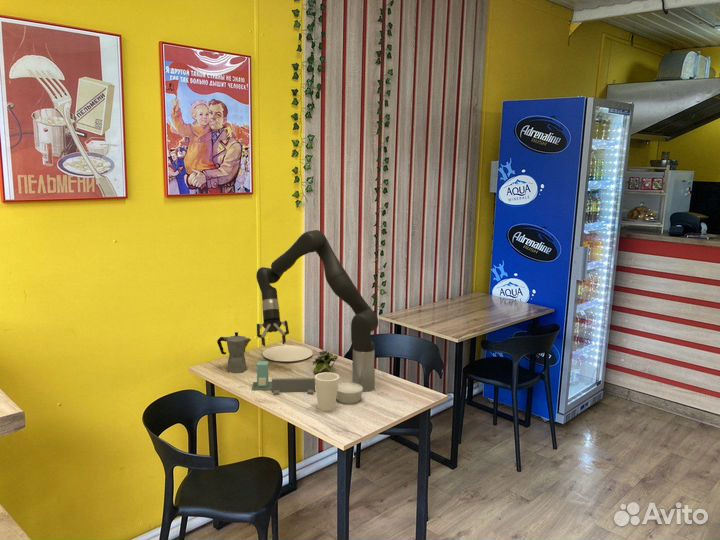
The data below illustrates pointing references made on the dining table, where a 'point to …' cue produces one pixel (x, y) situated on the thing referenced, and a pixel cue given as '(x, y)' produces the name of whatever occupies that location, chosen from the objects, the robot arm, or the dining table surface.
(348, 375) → the dining table surface
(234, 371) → the coffeepot
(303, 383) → the screen
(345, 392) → the ramekin
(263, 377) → the block
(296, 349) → the plate
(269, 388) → the mat
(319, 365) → the passion flower
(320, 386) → the foam cup
